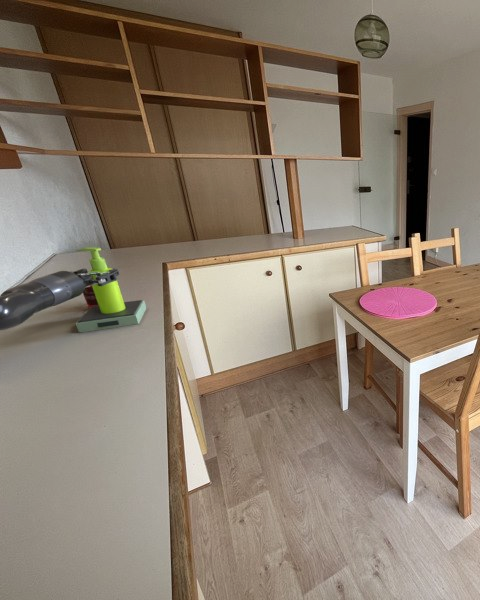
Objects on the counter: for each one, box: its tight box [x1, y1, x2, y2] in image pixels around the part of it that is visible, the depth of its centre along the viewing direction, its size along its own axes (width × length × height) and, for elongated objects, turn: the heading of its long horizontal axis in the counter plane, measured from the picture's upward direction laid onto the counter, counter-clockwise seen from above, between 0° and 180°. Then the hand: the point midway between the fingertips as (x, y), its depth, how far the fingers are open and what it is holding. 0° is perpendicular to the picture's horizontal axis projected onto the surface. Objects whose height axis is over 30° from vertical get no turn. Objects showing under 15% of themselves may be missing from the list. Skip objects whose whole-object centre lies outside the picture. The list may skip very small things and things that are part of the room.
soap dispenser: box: [76, 246, 125, 314], centre depth 96 cm, size 6×7×20 cm
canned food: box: [82, 286, 99, 310], centre depth 108 cm, size 8×8×11 cm
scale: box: [75, 299, 147, 333], centre depth 100 cm, size 14×14×3 cm
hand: (101, 271), depth 96 cm, fingers open, 8 cm apart
